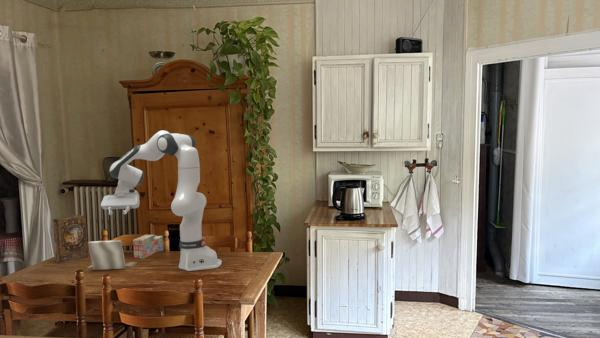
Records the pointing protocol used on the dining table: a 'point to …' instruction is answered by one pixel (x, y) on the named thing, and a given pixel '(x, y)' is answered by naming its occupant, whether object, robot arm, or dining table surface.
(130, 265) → the grey flat bar
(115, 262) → the metal panel
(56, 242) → the book
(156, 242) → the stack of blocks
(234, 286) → the dining table surface
